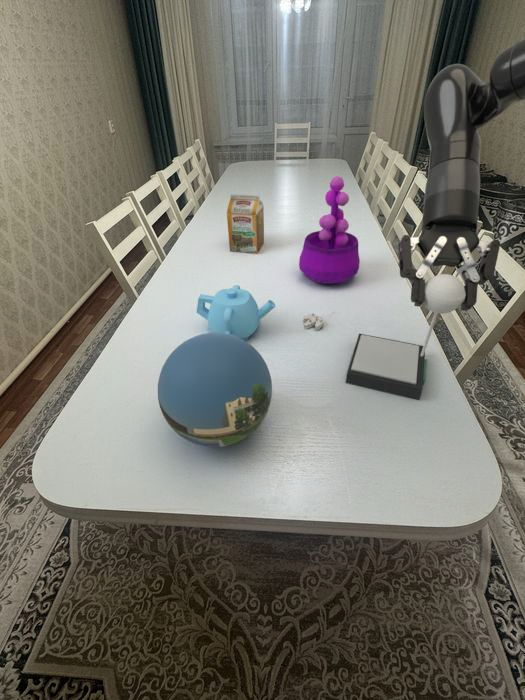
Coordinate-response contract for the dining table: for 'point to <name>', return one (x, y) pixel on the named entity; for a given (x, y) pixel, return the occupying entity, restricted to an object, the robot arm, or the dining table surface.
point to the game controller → (313, 321)
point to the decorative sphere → (214, 389)
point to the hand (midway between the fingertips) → (442, 307)
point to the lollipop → (442, 297)
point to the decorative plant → (331, 243)
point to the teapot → (233, 312)
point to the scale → (388, 366)
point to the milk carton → (245, 223)
